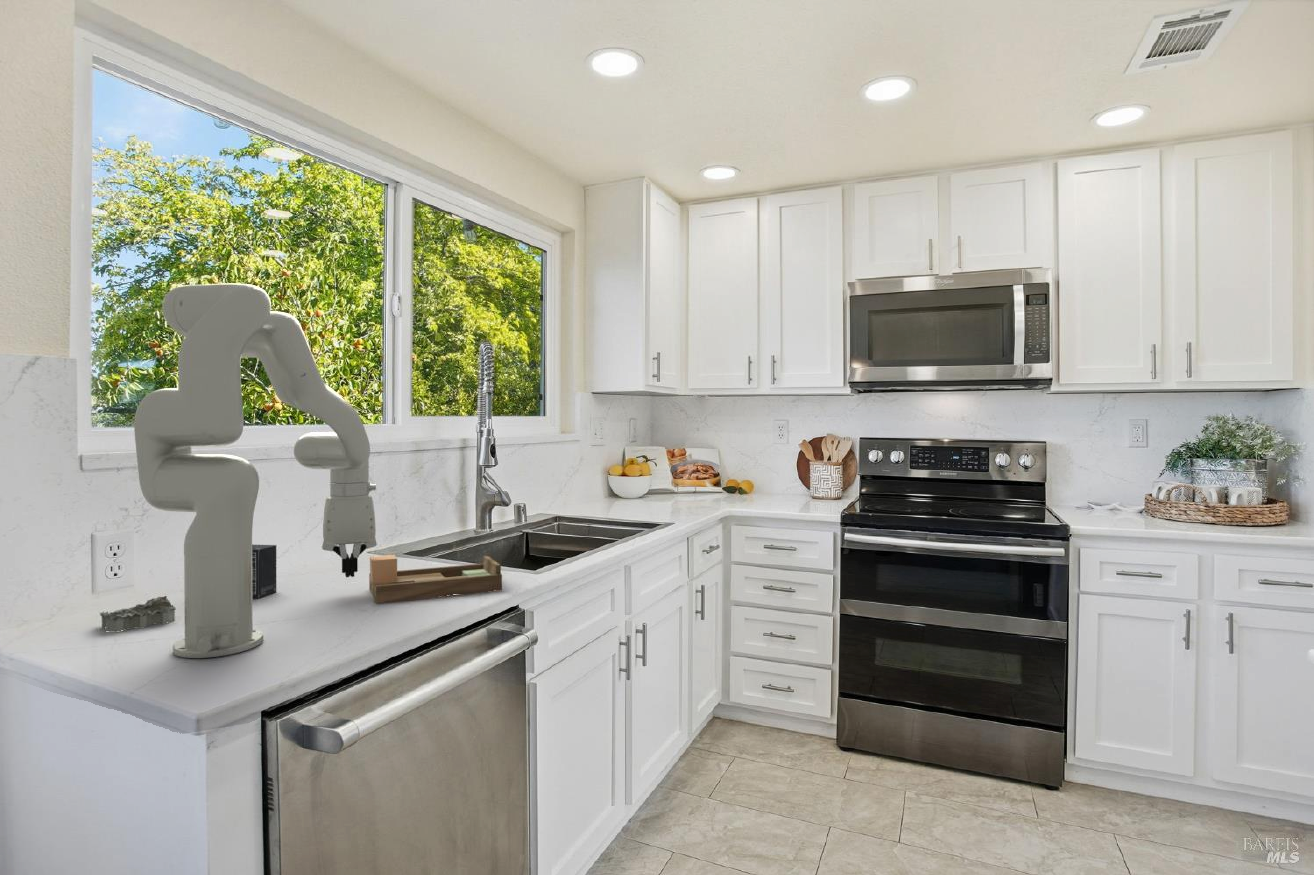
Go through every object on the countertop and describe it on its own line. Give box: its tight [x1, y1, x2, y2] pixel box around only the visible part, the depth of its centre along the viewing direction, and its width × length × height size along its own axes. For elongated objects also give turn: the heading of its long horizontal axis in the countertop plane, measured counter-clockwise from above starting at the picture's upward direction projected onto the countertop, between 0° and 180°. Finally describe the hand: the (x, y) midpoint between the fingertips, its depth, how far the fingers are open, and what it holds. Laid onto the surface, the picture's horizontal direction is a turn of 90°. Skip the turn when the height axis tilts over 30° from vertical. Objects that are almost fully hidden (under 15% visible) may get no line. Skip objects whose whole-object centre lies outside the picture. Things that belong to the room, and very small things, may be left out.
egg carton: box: [99, 595, 177, 632], centre depth 128 cm, size 11×8×4 cm
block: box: [369, 554, 398, 584], centre depth 154 cm, size 5×5×5 cm
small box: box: [252, 544, 277, 599], centre depth 150 cm, size 11×6×10 cm, turn 84°
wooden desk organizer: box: [368, 555, 503, 605], centre depth 156 cm, size 14×26×6 cm, turn 118°
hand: (349, 575), depth 151 cm, fingers closed
